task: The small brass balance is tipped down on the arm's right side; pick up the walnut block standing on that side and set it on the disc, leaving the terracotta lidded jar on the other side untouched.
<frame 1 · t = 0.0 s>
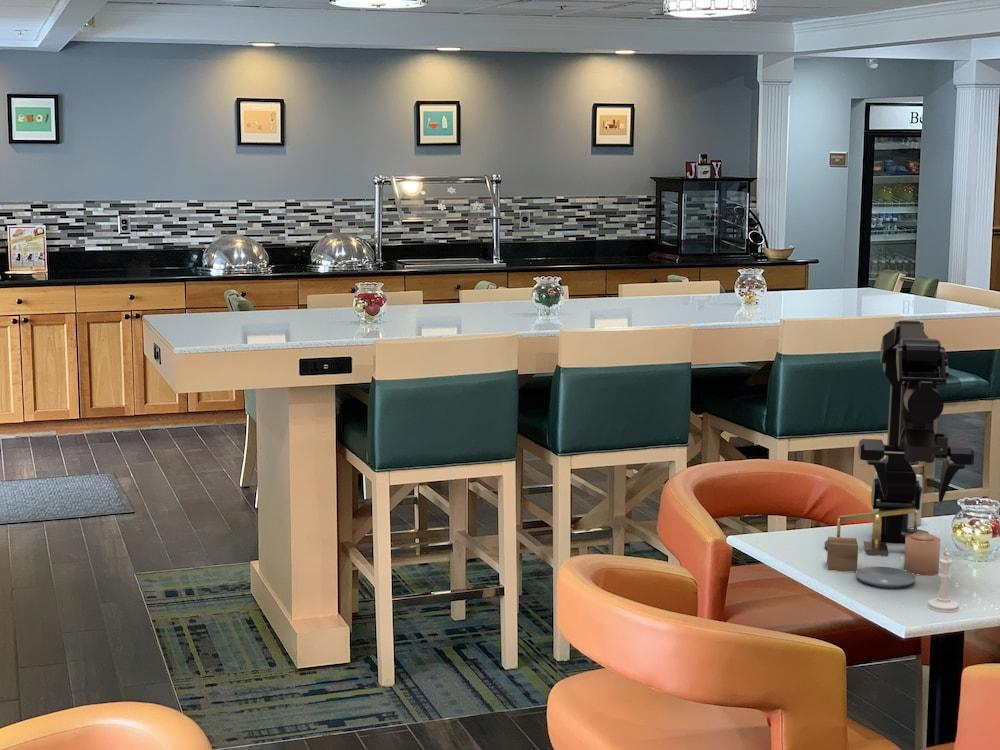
hand: (912, 500, 226), 15 cm above the table, tool pointing down, fingers open, 9 cm apart
balance: (875, 551, 247), on the table
chess piece: (942, 608, 214), on the table
small box: (896, 524, 267), on the table
terracotta lidded jar: (921, 570, 235), on the table
walnut block: (841, 567, 236), on the table
disc: (885, 580, 228), on the table
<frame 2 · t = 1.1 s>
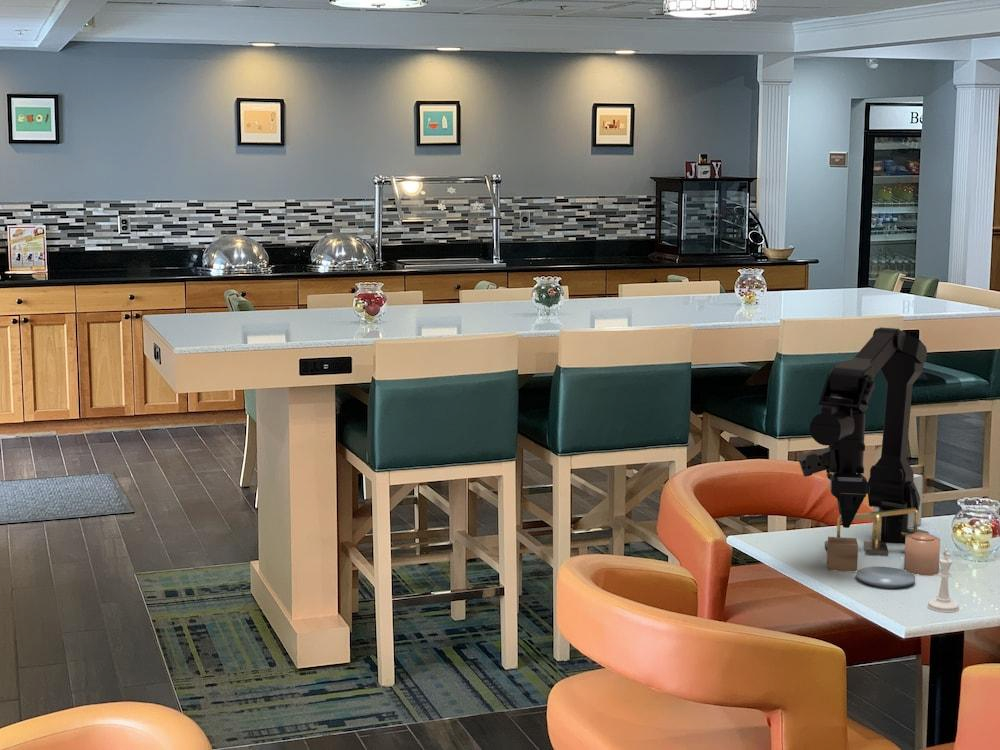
hand: (844, 520, 235), 9 cm above the table, tool pointing down, fingers open, 9 cm apart
nothing on the table moved.
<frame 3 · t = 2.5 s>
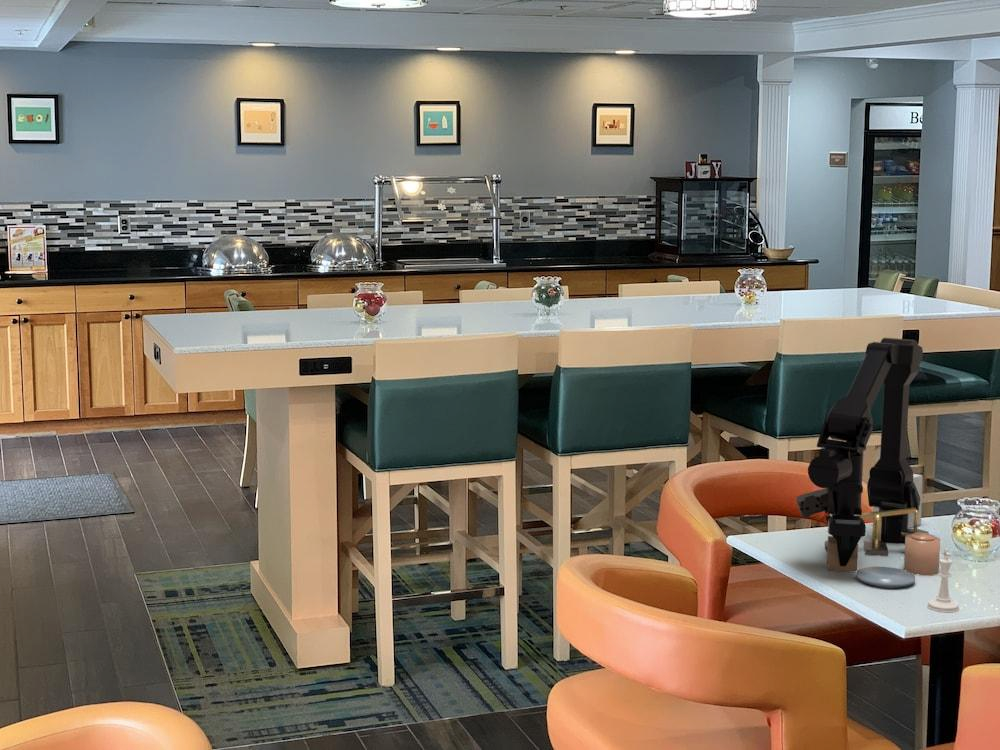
hand: (842, 561, 236), 1 cm above the table, tool pointing down, fingers closed on walnut block, 5 cm apart
walnut block: (841, 567, 236), on the table, touching gripper
everything else where it was.
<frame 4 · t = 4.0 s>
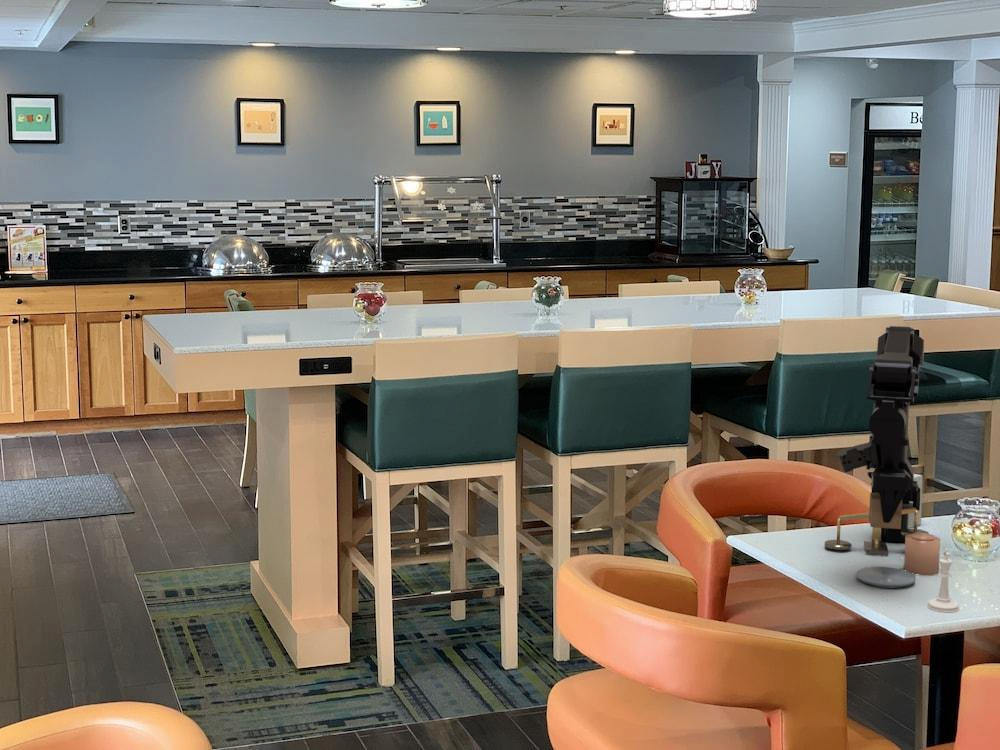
hand: (885, 518, 227), 11 cm above the table, tool pointing down, fingers closed on walnut block, 5 cm apart
walnut block: (884, 524, 227), point 10 cm above the table, touching gripper
everything else where it was.
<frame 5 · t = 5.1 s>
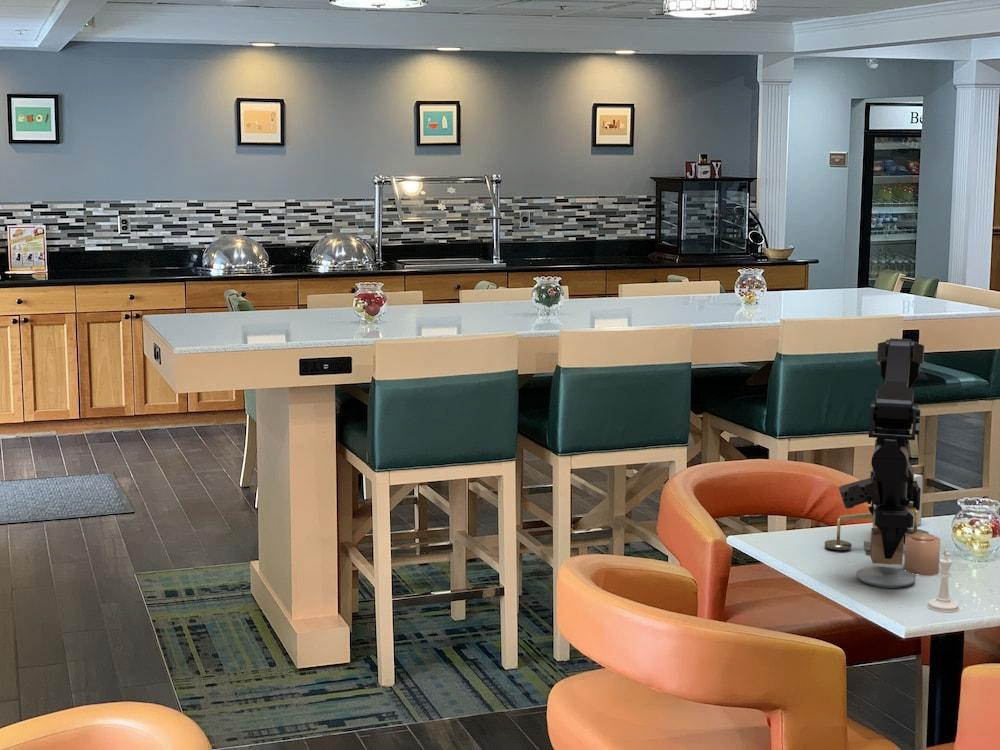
hand: (886, 554, 228), 5 cm above the table, tool pointing down, fingers closed on walnut block, 5 cm apart
walnut block: (886, 559, 228), point 4 cm above the table, touching gripper
everything else where it was.
when the fingers open (3 cm above the table, at t = 5.8 s): walnut block drops 1 cm, resting on disc.
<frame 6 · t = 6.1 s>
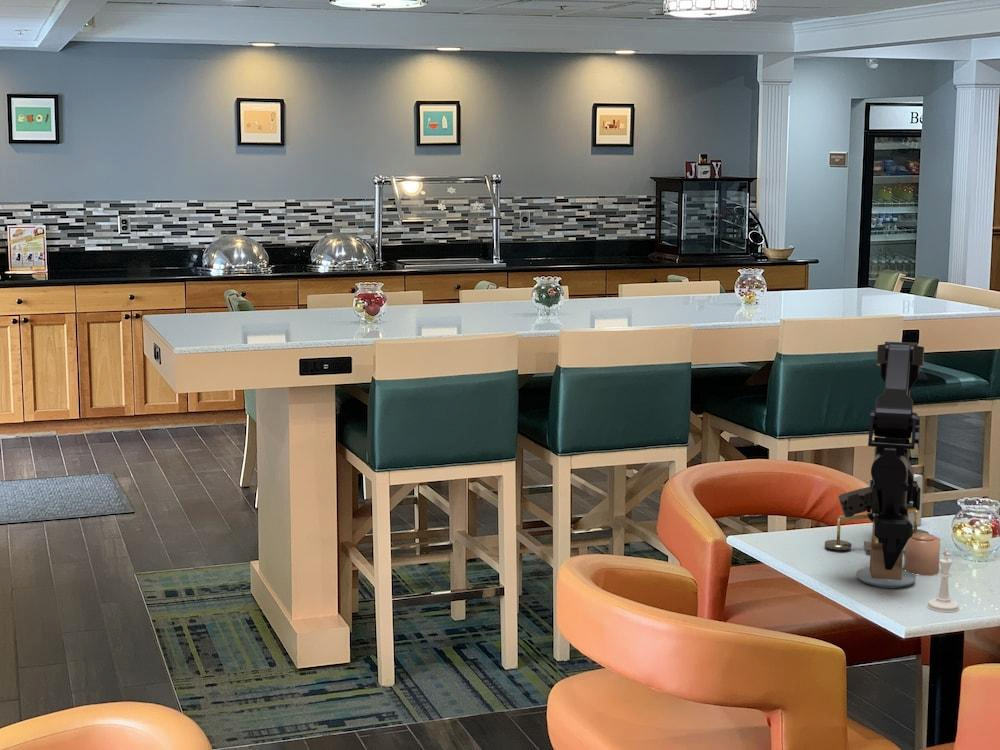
hand: (886, 562, 228), 3 cm above the table, tool pointing down, fingers open, 8 cm apart
walnut block: (885, 574, 228), point 1 cm above the table, touching disc
everything else where it was.
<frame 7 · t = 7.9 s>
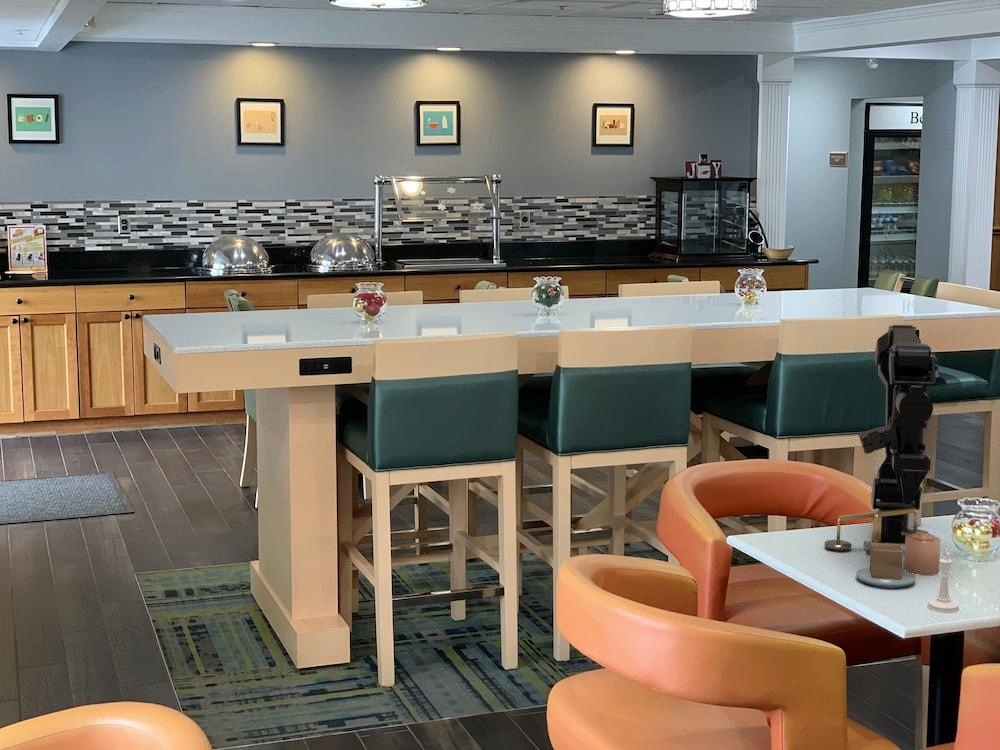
hand: (904, 497, 237), 12 cm above the table, tool pointing down, fingers open, 9 cm apart
nothing on the table moved.
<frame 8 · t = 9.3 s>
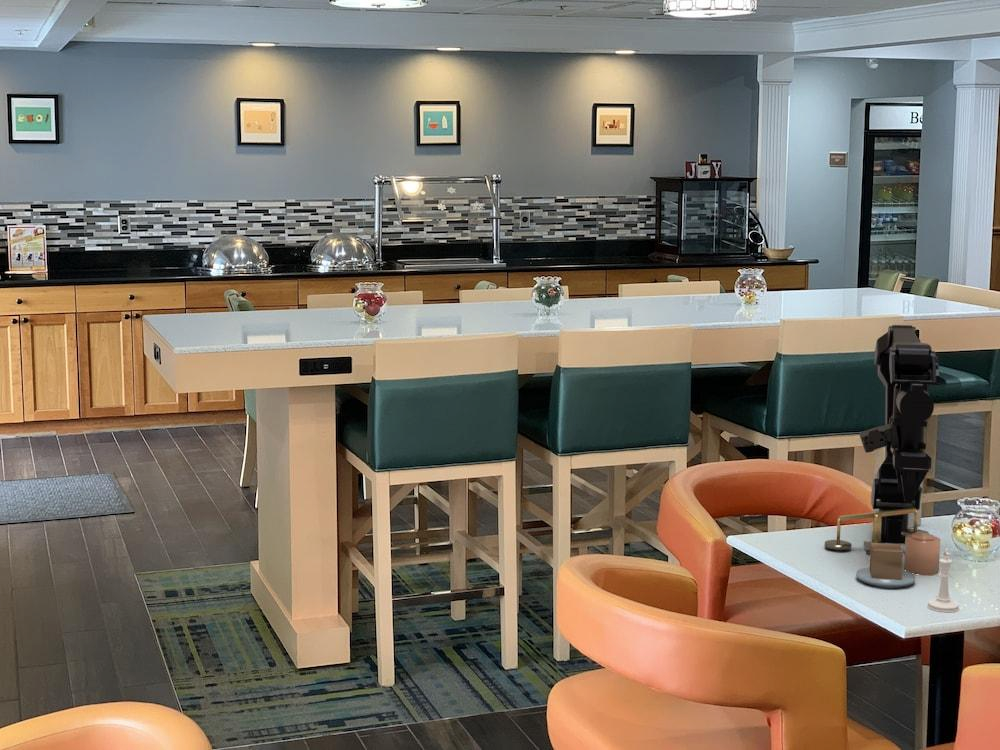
hand: (904, 496, 237), 13 cm above the table, tool pointing down, fingers open, 9 cm apart
nothing on the table moved.
at the end: walnut block inside the target area on the disc (0.0 cm from its centre), point 1.1 cm above the disc's base; walnut block tilted 0°; the gripper is holding nothing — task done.
